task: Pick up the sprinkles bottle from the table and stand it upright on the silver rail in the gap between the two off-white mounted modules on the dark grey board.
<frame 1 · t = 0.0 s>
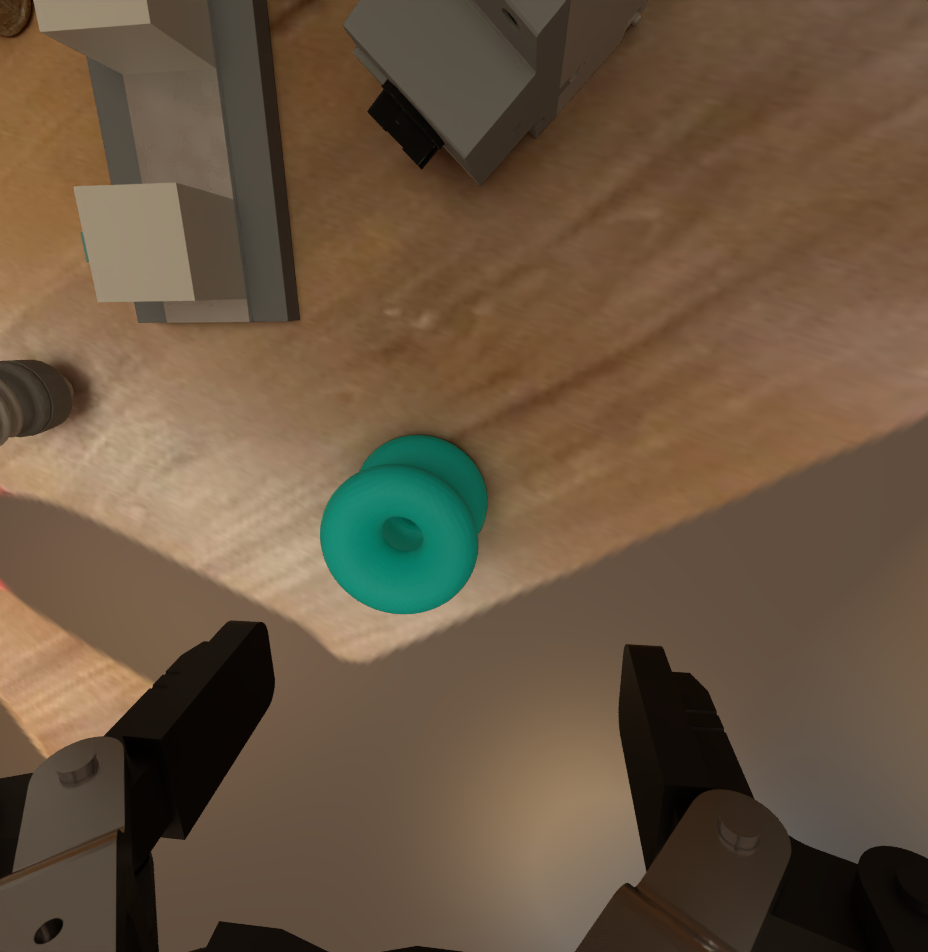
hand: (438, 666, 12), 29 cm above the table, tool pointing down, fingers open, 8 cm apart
mounting board: (201, 147, 37), on the table
din rail: (181, 139, 35), on the mounting board, point 2 cm above the table
light bulb: (69, 387, 44), on the table
mounted modules: (141, 125, 32), on the din rail, point 6 cm above the table
circuit breaker: (505, 77, 34), on the table
donuts: (424, 492, 43), on the table
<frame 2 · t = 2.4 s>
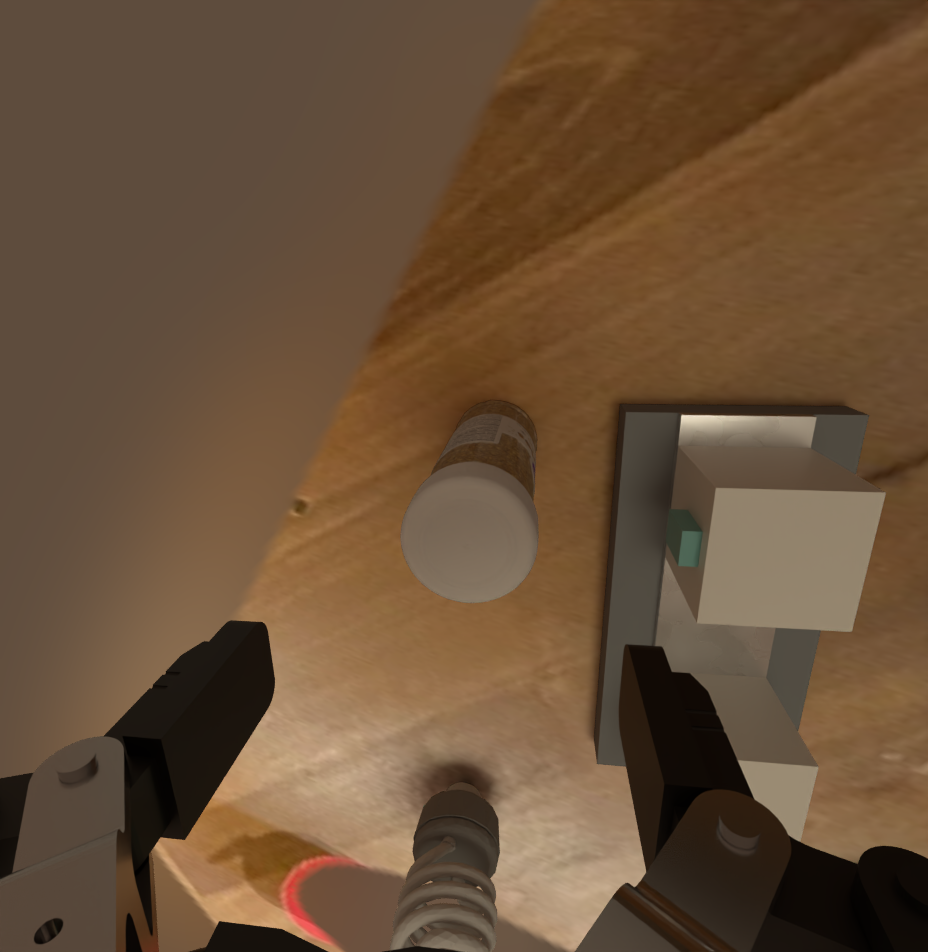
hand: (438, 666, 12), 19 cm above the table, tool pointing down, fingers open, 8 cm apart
mounting board: (703, 594, 32), on the table
din rail: (715, 616, 30), on the mounting board, point 2 cm above the table
light bulb: (465, 783, 39), on the table
mounted modules: (727, 653, 27), on the din rail, point 6 cm above the table
sprinkles bottle: (495, 437, 31), on the table
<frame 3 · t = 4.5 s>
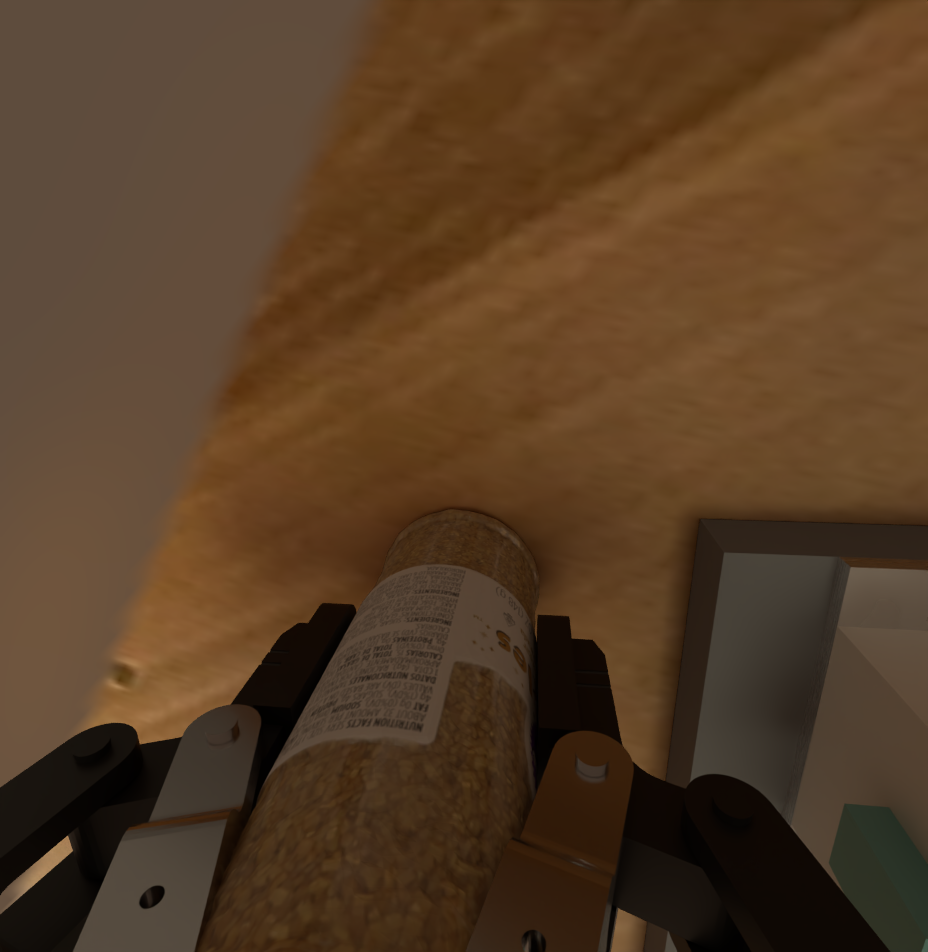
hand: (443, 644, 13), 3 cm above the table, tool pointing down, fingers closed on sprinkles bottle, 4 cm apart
mounting board: (838, 843, 18), on the table
din rail: (879, 919, 16), on the mounting board, point 2 cm above the table
sprinkles bottle: (461, 571, 16), on the table, touching gripper
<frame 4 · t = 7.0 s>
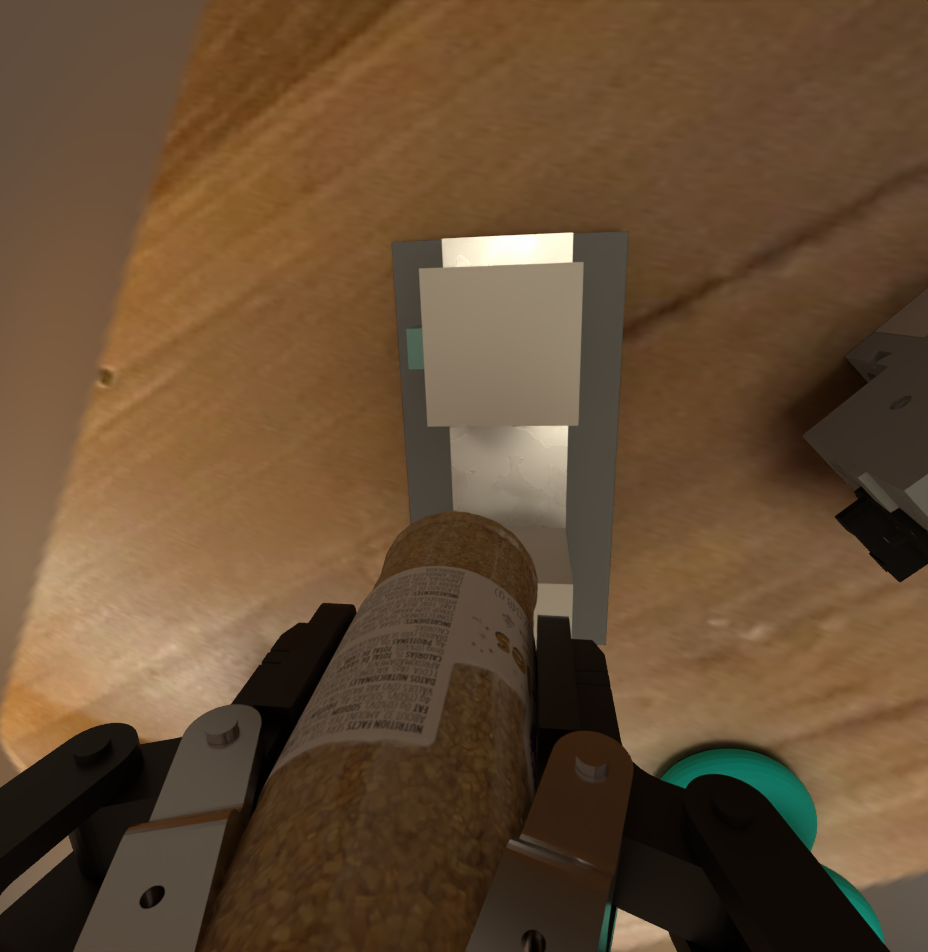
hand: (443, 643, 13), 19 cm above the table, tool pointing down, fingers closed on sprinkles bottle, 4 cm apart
mounting board: (510, 452, 31), on the table
din rail: (508, 463, 29), on the mounting board, point 2 cm above the table
mounted modules: (497, 484, 26), on the din rail, point 6 cm above the table
sprinkles bottle: (460, 573, 16), point 16 cm above the table, touching gripper
circuit breaker: (906, 393, 28), on the table
donuts: (722, 795, 37), on the table
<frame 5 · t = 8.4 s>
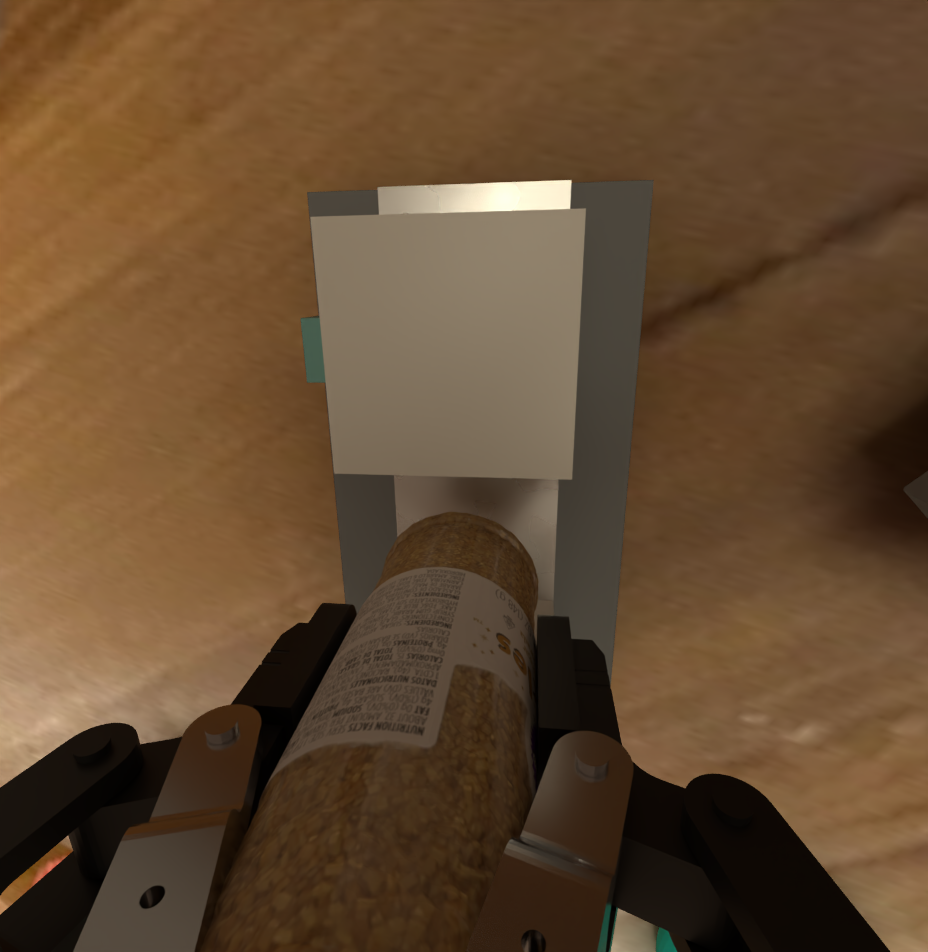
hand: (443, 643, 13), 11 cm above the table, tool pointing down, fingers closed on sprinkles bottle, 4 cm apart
mounting board: (481, 490, 23), on the table
din rail: (475, 511, 21), on the mounting board, point 2 cm above the table
mounted modules: (453, 549, 18), on the din rail, point 6 cm above the table
sprinkles bottle: (460, 573, 16), point 7 cm above the table, touching gripper
donuts: (748, 924, 29), on the table
when the fingers open (7 cm above the table, at t = 9.4 s): sprinkles bottle drops 1 cm, resting on din rail.
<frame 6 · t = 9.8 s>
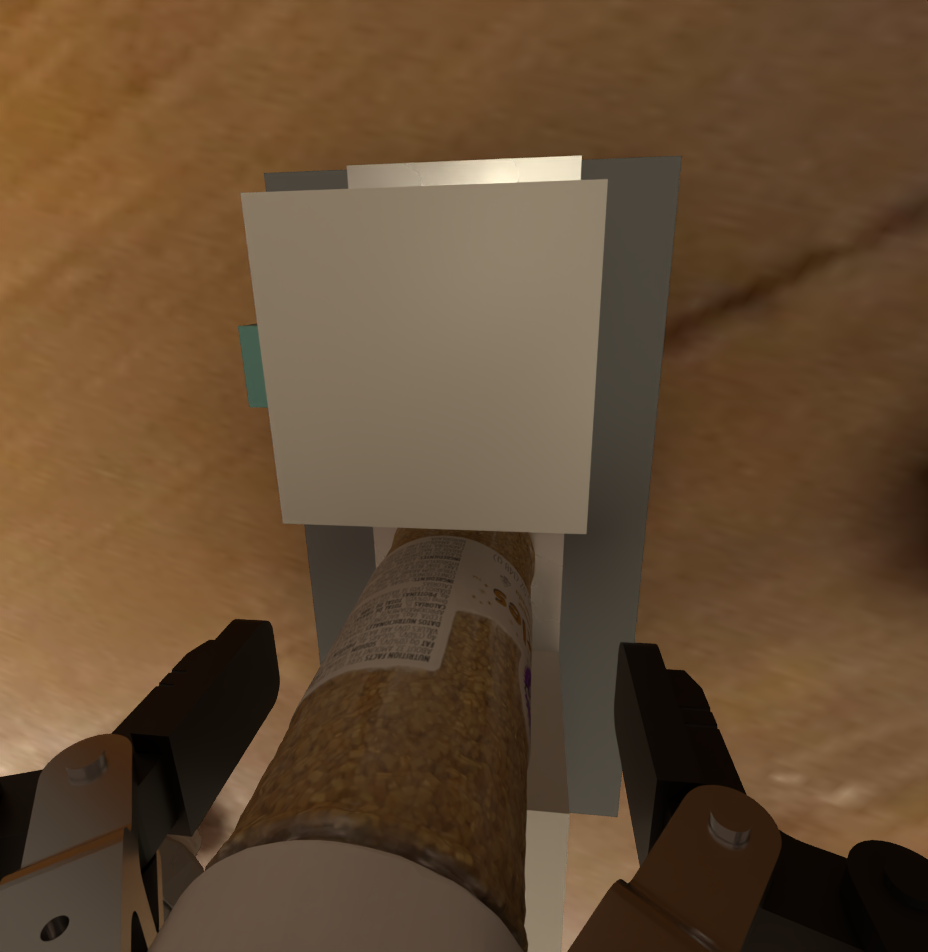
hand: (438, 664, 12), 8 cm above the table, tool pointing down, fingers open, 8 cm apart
mounting board: (474, 521, 20), on the table
din rail: (467, 549, 18), on the mounting board, point 2 cm above the table
light bulb: (189, 815, 27), on the table
mounted modules: (439, 602, 15), on the din rail, point 6 cm above the table
sprinkles bottle: (463, 549, 18), point 2 cm above the table, touching din rail
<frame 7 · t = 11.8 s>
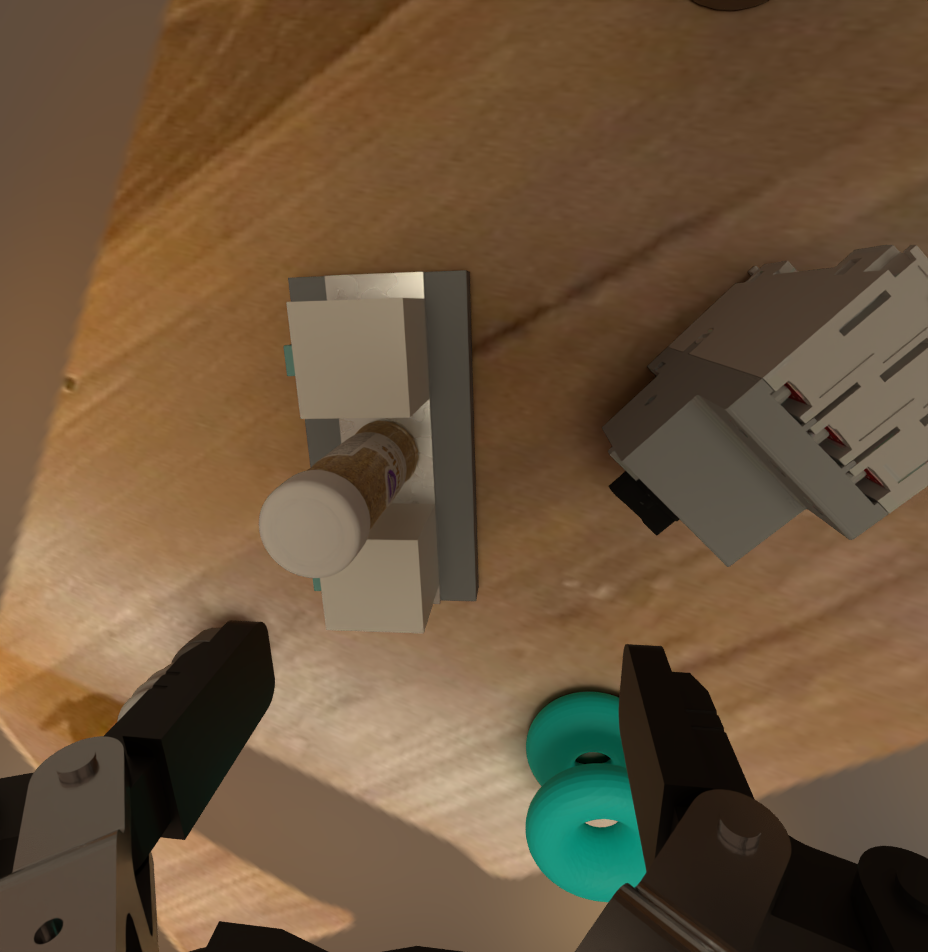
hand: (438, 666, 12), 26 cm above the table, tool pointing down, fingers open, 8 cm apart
mounting board: (395, 443, 39), on the table
din rail: (387, 451, 37), on the mounting board, point 2 cm above the table
light bulb: (241, 635, 45), on the table
mounted modules: (368, 465, 34), on the din rail, point 6 cm above the table
sprinkles bottle: (385, 451, 37), point 2 cm above the table, touching din rail
circuit breaker: (698, 395, 36), on the table
donuts: (589, 734, 44), on the table
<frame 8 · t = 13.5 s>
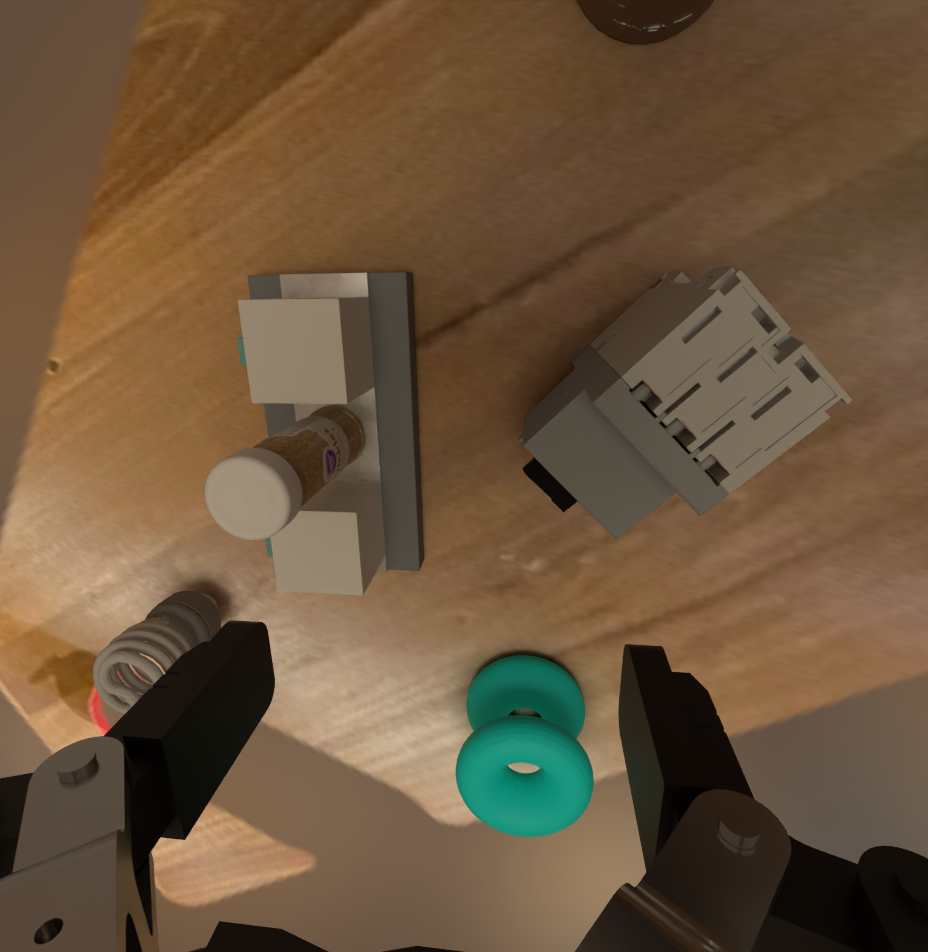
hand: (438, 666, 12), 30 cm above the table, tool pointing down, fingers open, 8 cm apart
mounting board: (348, 426, 43), on the table
din rail: (338, 434, 41), on the mounting board, point 2 cm above the table
light bulb: (211, 599, 50), on the table
mounted modules: (316, 446, 38), on the din rail, point 6 cm above the table
sprinkles bottle: (336, 434, 41), point 2 cm above the table, touching din rail
circuit breaker: (617, 388, 40), on the table
donuts: (525, 694, 49), on the table
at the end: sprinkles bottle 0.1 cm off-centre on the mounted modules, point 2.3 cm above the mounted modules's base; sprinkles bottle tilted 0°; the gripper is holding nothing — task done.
